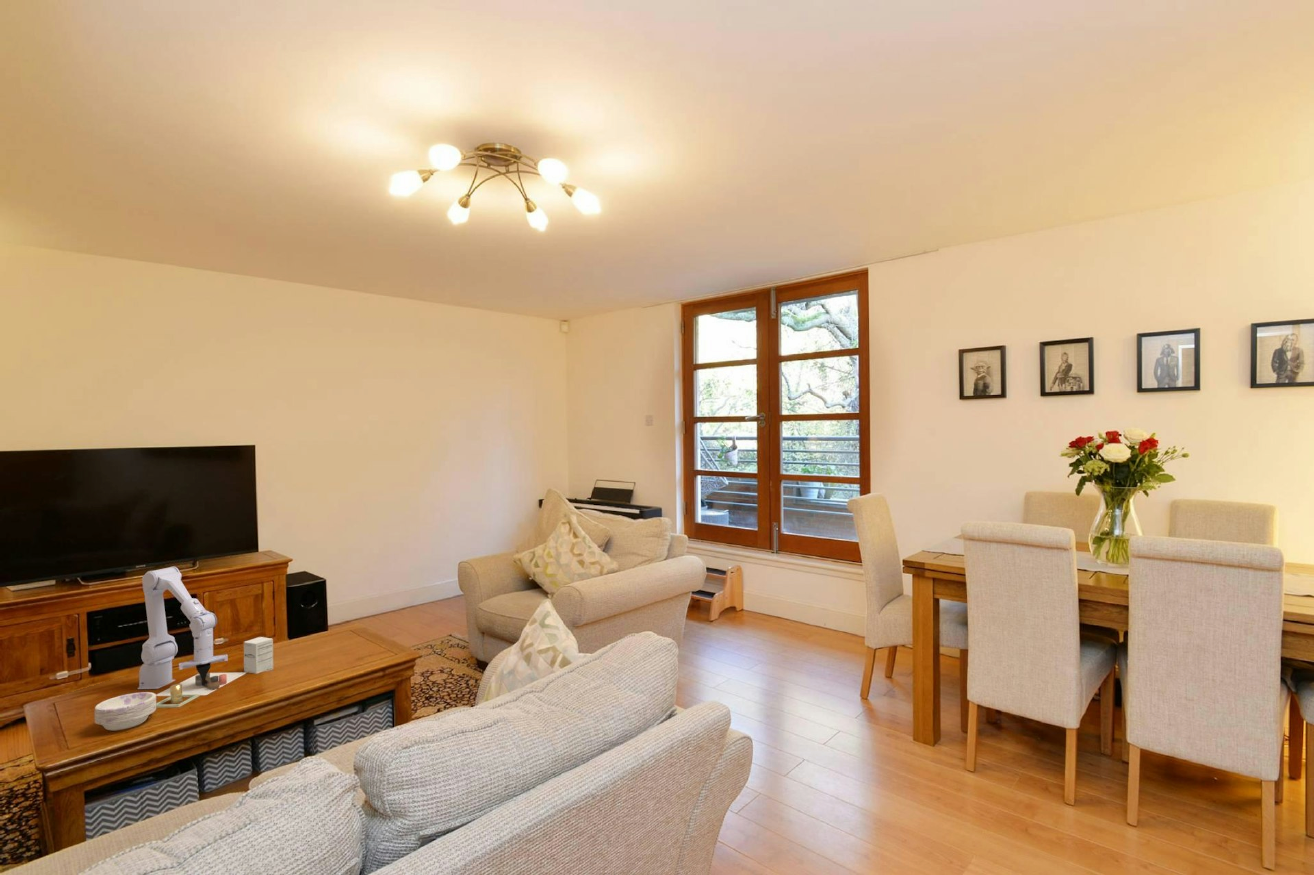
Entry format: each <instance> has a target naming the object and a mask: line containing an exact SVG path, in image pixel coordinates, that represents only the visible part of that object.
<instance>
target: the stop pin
mask: <svg viewBox="0 0 1314 875" xmlns="http://www.w3.org/2000/svg"><path fill="white" fill-rule="evenodd" d="M169 688H170V695H171V699H170V705H171V704H180V703H182V702H184V701H183V700H184V699H183V697H182V684H181V682H179V683H174V684H171V685H170V686H169Z"/></svg>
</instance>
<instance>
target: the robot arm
mask: <svg viewBox="0 0 1314 875" xmlns="http://www.w3.org/2000/svg"><path fill="white" fill-rule="evenodd" d="M182 576H183V575H182V573H181V572H180V569H179V568H178V567H176V566H170V567H169V566H168V567H166V568H161V569H156V570H148V571H147V572H146V573H145V574H143V576H142V578H141V581H142V590H143V591H142V592H143V593H144V602H145V610H146V617H147V618H146V620H147V627H148V628H147V629H148V634H149V635H148V636H149V638H148V639H147V640H146V641H145V642H144V643H143V644H142V651H141V654H140V656H141V660H142V662H143V664H141V666H140V668H139V671H138V676H139V680H138V681H139V684H138V685H139V686H138V687H137V690H158V689H160V688H162V687H164V686H167V685H169V684H171V683H173V682H175V681H176V679H173V660H174V659H175V656H176V655H177V653H178V651H179V650H178V644H177V642H176V639H175V637H174V635H170V634H169V633H168V626H167V625H168V624H167V618H166V611H165V600H164V592H166V590H168V591H169V592H170V593H171V594H172V595H173V596H174V597H175V598H176V599H177V601H178V602H179V603H181V606H180V611H182V613H183V614H184V616H186V618H187V619H188V620H189V621H190V624H188V625H189V629H190V631H191V634H192V637H193V646H194V647H193V659H191V660H188V661H184V662H179V663H178V670H179V671H180V670H183V669H188V668H194V667H195V668H196V671H197V673H198V674H200V676H201V678H202V681H201V683H202V685H205V678H206V675H207V673H209V671H210V669H211V667H212V666H211V664H214V663H220V662H228V659H229V658H228V654H220V655H214V628H215V627H217V626H216V625H217V624H218V619H217V616H216V614H215V613H214V612H211V611H209V610H206V608H205V607H204V606H203V605H202V603H201V602H200V601H199V599H198V598H194V597H193V598H192V596H191V594H190V593H189V591H188V590H187V588H186V586H185V585H184V583H183V582H182Z"/></svg>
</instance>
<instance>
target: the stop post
mask: <svg viewBox="0 0 1314 875" xmlns="http://www.w3.org/2000/svg"><path fill="white" fill-rule="evenodd" d="M226 683H227V675H226V674H222V675H219V685H224V684H226ZM227 684H228V683H227ZM227 684H226V685H227ZM224 686H225V685H224Z"/></svg>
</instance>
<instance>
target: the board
mask: <svg viewBox="0 0 1314 875" xmlns="http://www.w3.org/2000/svg"><path fill="white" fill-rule="evenodd" d="M209 673H210V678H211V677H213V676H218V681H219V675H222V674H226V675H227V683H226V684H224V685H219V688H216V689H211V688H209V687H206V686H204V685H196V684H195V676H196V675H198V674H199V673H197V674H195V675H194V676H190V677H189V678H187V679H185V680H183V681H181V682H180V683H181V684H182V694H199V696H207V695H209V694H211V693H213V692H215V691H217V690H218V689H220V688H222V687H224V686H225V685H227V684H229V683H231V682H233V681H235V680H236V679H238V678H240V677H242V676H244V675H245V674H247V673H248V672H244V671H243V672H242V671H241V672H209ZM170 696H171V695H170V687H169V688H167V689H165V690H163V691H161V692H159V693H157V694H156V697H170Z"/></svg>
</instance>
